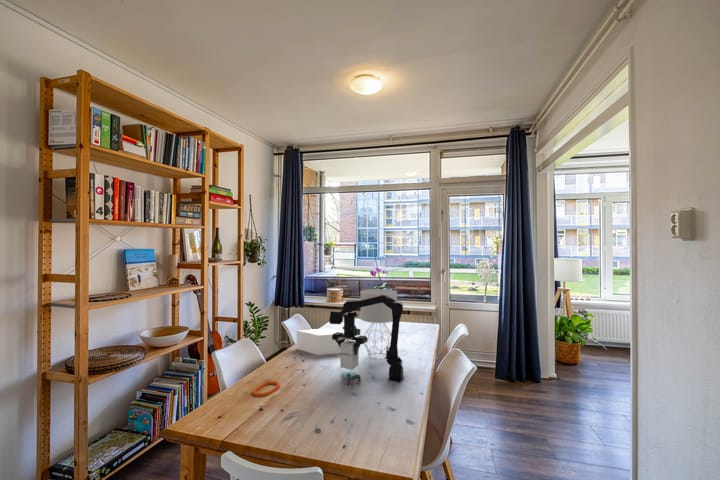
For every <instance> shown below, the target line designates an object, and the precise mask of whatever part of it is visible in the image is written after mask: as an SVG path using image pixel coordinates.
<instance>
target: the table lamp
mask: <svg viewBox="0 0 720 480" xmlns="http://www.w3.org/2000/svg"><path fill="white" fill-rule="evenodd" d="M382 294H385V295H386V296H388V297H390V298H392V299H394V300H395V301H398V295H397V294H398V292H397V291H396V290H394V289H387V288H386V289H385V288H384V289H383V288H382V289H381V288H380V289H379V288H372V289H370V288H369V289H362V290H361V291H360V300H361V299H366V298H370V297H374V296H379V295H382ZM360 320H361V321H363V322H367V323H371V325H369V327H368V328H367V330H366V331H365V334H364V336H366V337H367V342H366V343H364V344H363V346H364V348H365V349H366V353H367V354H368V357H369V358H372V359H373V360H377V359H378V357H379V355H380V354H381V355H385V356H384V357H383V358H381V357H382V356H380V358H379V360H386V359H385V358H386V350H387V347H388V348H390V343H391V342H390V340H391V337H389V336H391V330H390V329H389V328H388V326H387V325H386V323H392V322H393V318H392V309H390V308H389V307H388V306H386V305H385V304H384V303H378V304H374V305H370V306H365V307H361V308H360ZM378 324H379V326H380V328H379V330H377V328H375V329H374V330H373V327H374V326H375V327H377V326H378ZM372 330H373V331H372ZM382 330H384V332H383V331H382ZM376 331H377V332H378V333H380V336H379V337H378V338H377V340H378V339H379V341H381V342H383V340H384V342H385V343H386V344H387V345H386V346H385V348H384V351H385V352H384V353H383V346H381V347H380V348H381V349H380V348H378V345H377V340H374V339H376V334H374V335H373V336H374V337H373V338H372V337H371V336H370V334H372V333H373V332H374V333H377V332H376ZM384 334H386V337H387V338H388V339H386V338H384V337H383V336H384ZM370 341H371V342H372V344H373V345H372V346H371V343H370ZM386 341H387V342H386ZM368 342H369V347H370V348H369V347H368ZM372 348H373V349H372ZM376 350H377V351H379V354H378V355H377V356H375V354H376ZM373 354H374V355H373ZM372 356H373V357H372Z"/></svg>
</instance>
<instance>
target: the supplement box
mask: <svg viewBox="0 0 720 480" xmlns="http://www.w3.org/2000/svg"><path fill="white" fill-rule="evenodd" d="M354 343H356V342H355V340H346V341H344V342H343V343H341V344H340V353H339V354H340V357H339V358H340V359H339V360H340V363H339V364H340V365H339V366H340V369H342V368H343V369H346V370H347V369H348V370H354V369H355V368H357V367H358V366H359V355H360V353H359V350H358V352H357V355H356V356H355V353H354Z"/></svg>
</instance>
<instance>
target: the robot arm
mask: <svg viewBox="0 0 720 480" xmlns="http://www.w3.org/2000/svg"><path fill="white" fill-rule="evenodd" d="M378 303H384V304H385V305H386V306H388V307H389V308H390V309H392V318H393V322H391V324H392V325H391V332H390V334H391V335H390V342H389V343H390V344H389V346H390V347H389V346H388V347H389V348H388V347H387V349H385V351H386V353H385V354H386V355H385V356H386V357H384V358H385V359H384V360H386V362H387V364H388V365H389V369H388V380H389V381H393V382H398V383H401V382H402V381H403V380H404V379H405V376H404V366H403V360H402V359H401V357H400V356H399V349H398V340H399V330H400V321H401V317H402V313H403V310H404V305H403V302H402V301H400V300H397V301H395V300H394V299H392V298H390V297H388V296H386V295H385V294H382V295H379V296H374V297H370V298H366V299H361V298H360V299H347V300H346V301H345V302H344V303H343V305H342V309H341V310H340V311H337V310H336V311H335V310H331V311H330V314H329V320H328V322H329V324H330V325H342V323H343V326H342V330H343V331H341V332H336V333H334V334H333V335H332V339H333V340H335V341H336V342H337V343H338V345H339V347H340V344H341V343H343V342H344V341H345V339H348V340H349V341H355V342H356V343H354V353H355V356H356V355H357V352H358V350H359V349H360V347H361V346H362V345H364V344H367V343H368V342H367V339H368V336H367V335H361V329H360V328H357V325H356V324H355V320H356V319H355V318H356V317H358V316H359V313H358V312H357V310H359V309H361V307H365V306H370V305H374V304H378ZM342 332H344V334H343V333H342ZM366 336H367V337H366Z"/></svg>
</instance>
